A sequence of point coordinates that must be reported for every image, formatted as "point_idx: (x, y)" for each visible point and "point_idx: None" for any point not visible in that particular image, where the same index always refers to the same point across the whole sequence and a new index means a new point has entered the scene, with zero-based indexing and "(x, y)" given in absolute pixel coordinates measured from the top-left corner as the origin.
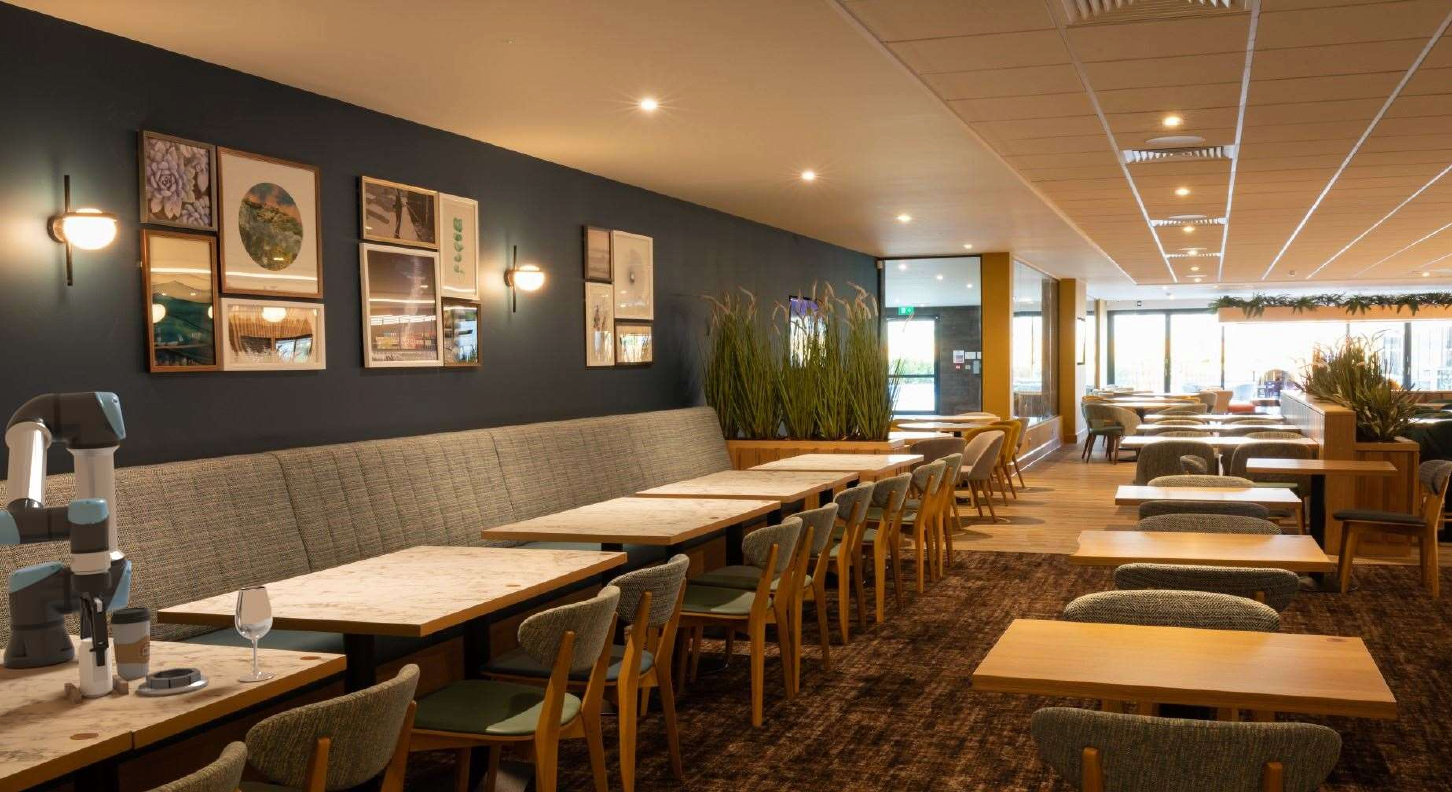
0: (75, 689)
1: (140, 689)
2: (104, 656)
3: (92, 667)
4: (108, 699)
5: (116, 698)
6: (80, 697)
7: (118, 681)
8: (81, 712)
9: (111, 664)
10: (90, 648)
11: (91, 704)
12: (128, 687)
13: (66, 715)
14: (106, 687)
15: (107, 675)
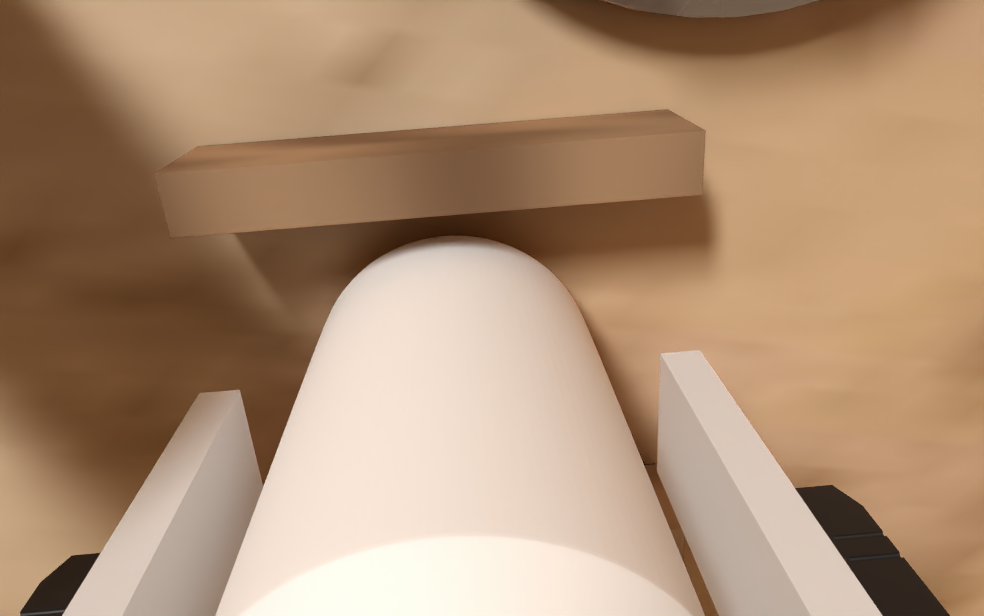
0: None
1: (779, 7)
2: (925, 585)
3: (706, 583)
4: (711, 286)
5: (732, 227)
6: None
7: (522, 207)
8: (955, 482)
9: (517, 353)
10: None
11: (770, 409)
12: (688, 122)
13: (944, 558)
14: (579, 314)
15: (719, 379)
